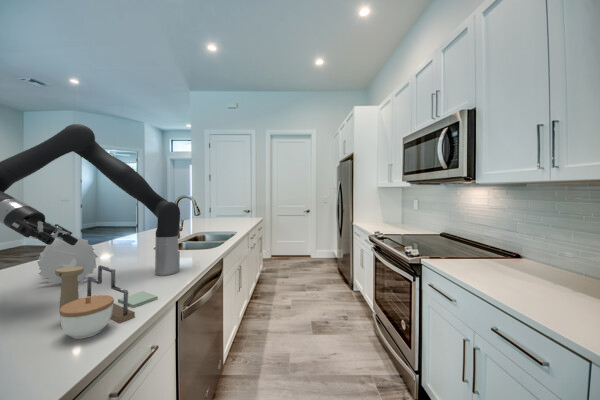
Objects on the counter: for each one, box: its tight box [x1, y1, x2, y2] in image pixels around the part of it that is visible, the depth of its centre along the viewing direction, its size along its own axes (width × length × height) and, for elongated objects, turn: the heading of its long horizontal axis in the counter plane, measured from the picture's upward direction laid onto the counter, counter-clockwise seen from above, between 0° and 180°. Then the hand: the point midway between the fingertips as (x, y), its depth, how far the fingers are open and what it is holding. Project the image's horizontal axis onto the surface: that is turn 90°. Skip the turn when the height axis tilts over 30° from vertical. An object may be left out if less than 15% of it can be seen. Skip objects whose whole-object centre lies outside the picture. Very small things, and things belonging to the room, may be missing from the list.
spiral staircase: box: [36, 235, 99, 284], centre depth 103 cm, size 18×18×25 cm
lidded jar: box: [59, 294, 115, 340], centre depth 64 cm, size 11×11×9 cm
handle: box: [55, 266, 84, 309], centre depth 69 cm, size 5×6×15 cm
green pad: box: [117, 290, 158, 309], centre depth 84 cm, size 8×9×1 cm
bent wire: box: [86, 265, 136, 324], centre depth 76 cm, size 4×24×14 cm, turn 62°
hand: (64, 242), depth 74 cm, fingers open, 8 cm apart
